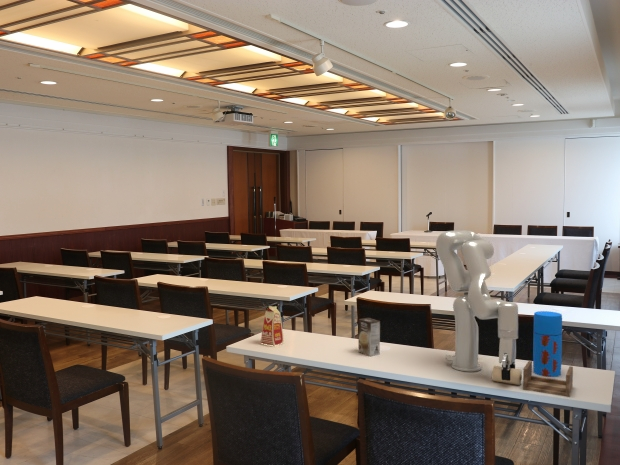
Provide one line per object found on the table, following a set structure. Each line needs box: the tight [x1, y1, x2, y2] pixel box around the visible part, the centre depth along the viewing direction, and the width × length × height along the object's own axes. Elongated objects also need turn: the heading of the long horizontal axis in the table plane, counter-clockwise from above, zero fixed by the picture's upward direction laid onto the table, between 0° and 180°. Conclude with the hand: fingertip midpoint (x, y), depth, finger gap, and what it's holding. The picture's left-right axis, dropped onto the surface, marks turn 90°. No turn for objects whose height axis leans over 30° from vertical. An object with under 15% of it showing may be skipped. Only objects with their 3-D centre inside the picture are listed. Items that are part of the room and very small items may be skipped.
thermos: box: [532, 310, 563, 378], centre depth 230 cm, size 11×11×25 cm
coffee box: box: [357, 317, 381, 357], centre depth 261 cm, size 9×6×16 cm
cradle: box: [522, 360, 574, 398], centre depth 211 cm, size 16×12×8 cm
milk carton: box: [260, 305, 284, 346], centre depth 280 cm, size 9×9×20 cm
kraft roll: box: [491, 365, 523, 386], centre depth 219 cm, size 11×6×6 cm, turn 59°
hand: (508, 376), depth 218 cm, fingers open, 9 cm apart
